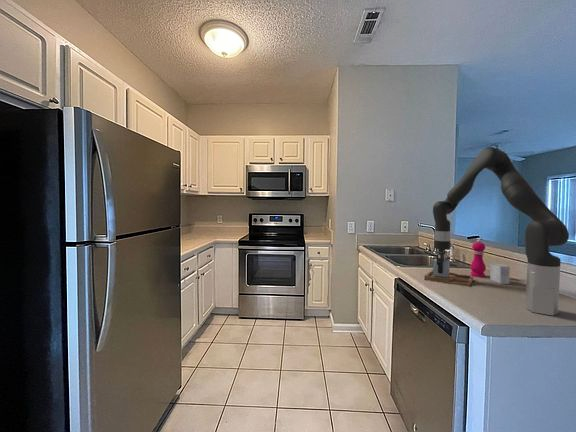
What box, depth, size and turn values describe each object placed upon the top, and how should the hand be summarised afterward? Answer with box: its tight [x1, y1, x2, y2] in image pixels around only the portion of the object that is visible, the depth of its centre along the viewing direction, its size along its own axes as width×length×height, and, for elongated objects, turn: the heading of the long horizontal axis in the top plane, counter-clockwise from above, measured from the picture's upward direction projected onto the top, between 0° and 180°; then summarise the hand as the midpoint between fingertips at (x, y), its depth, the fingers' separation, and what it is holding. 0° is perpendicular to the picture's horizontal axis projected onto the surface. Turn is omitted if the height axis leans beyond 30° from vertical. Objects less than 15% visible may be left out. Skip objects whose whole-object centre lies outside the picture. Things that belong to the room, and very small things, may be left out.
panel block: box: [432, 258, 451, 277], centre depth 158 cm, size 4×7×8 cm, turn 53°
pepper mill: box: [469, 238, 487, 278], centre depth 164 cm, size 7×7×20 cm
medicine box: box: [489, 263, 511, 285], centre depth 152 cm, size 8×4×9 cm, turn 179°
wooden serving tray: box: [423, 269, 474, 287], centre depth 156 cm, size 16×20×2 cm
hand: (441, 272), depth 158 cm, fingers closed on panel block, 4 cm apart
